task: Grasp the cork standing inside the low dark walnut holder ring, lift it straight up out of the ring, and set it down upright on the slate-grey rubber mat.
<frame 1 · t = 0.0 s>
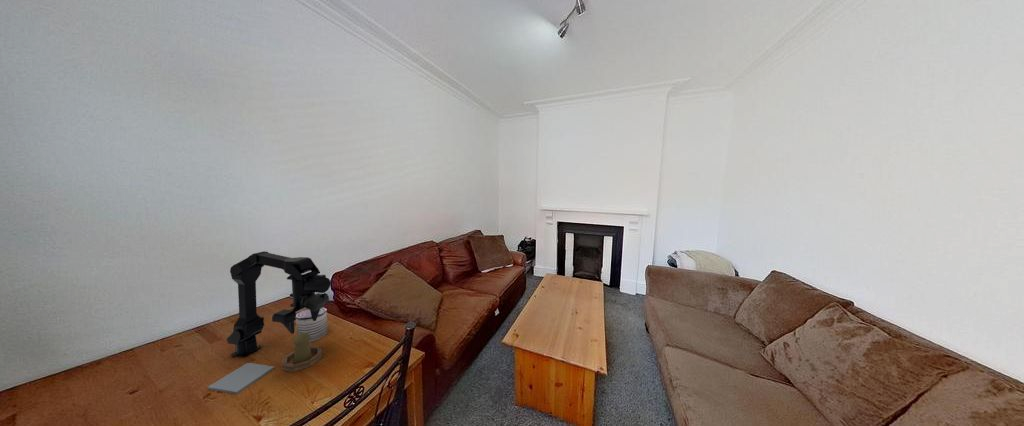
hand: (304, 326, 100), 15 cm above the table, tool pointing down, fingers open, 9 cm apart
walnut holder: (302, 359, 101), on the table
cork: (302, 360, 101), resting in walnut holder
can: (312, 335, 118), on the table
slate mat: (242, 378, 91), on the table
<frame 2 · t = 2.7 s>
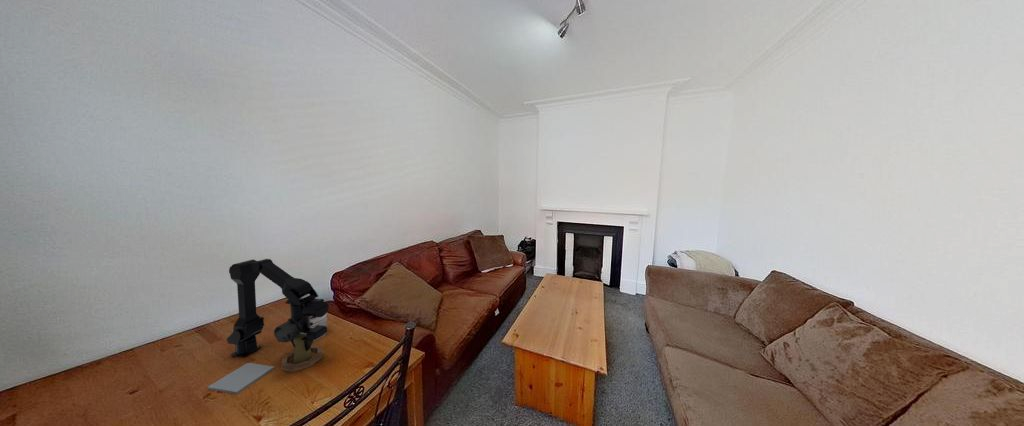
hand: (302, 349, 101), 5 cm above the table, tool pointing down, fingers closed on cork, 4 cm apart
cork: (302, 360, 101), resting in walnut holder, touching gripper
everything else where it was.
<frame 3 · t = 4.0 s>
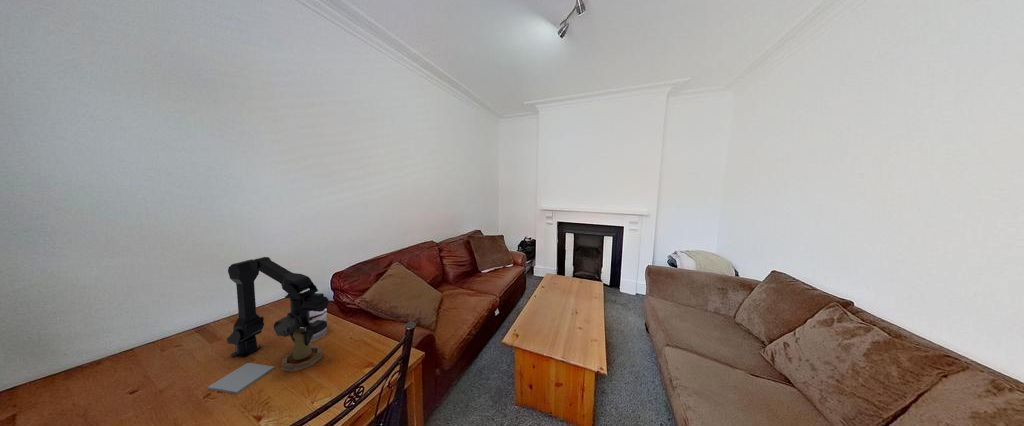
hand: (301, 344, 101), 7 cm above the table, tool pointing down, fingers closed on cork, 4 cm apart
cork: (302, 355, 101), point 2 cm above the table, touching gripper
everything else where it was.
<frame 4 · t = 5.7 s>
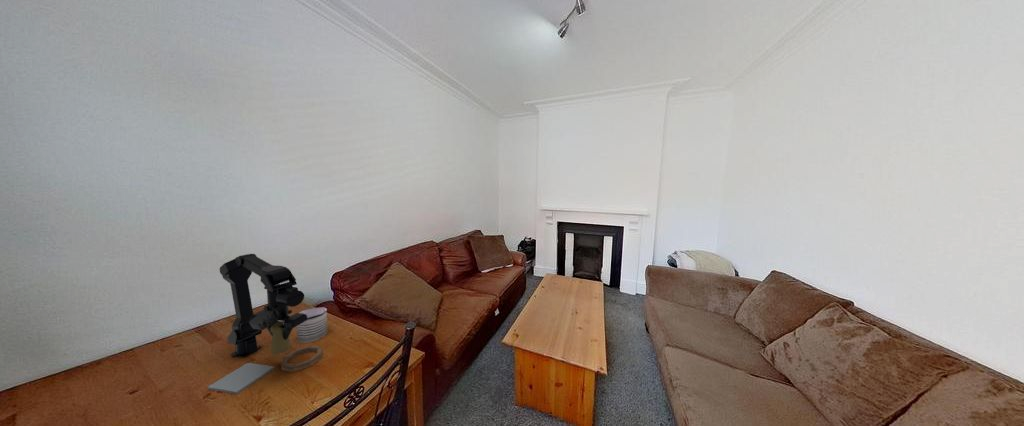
hand: (280, 338, 96), 12 cm above the table, tool pointing down, fingers closed on cork, 4 cm apart
cork: (281, 349, 97), point 7 cm above the table, touching gripper
everything else where it was.
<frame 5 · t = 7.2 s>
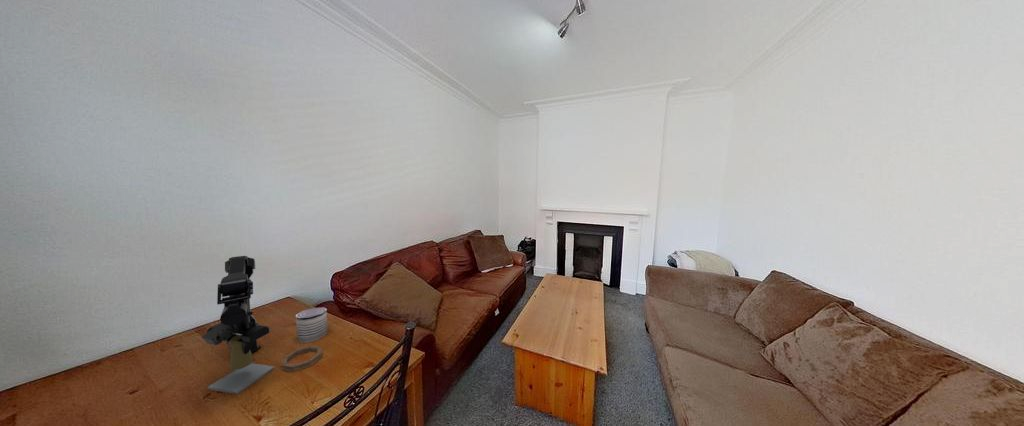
hand: (240, 352, 90), 10 cm above the table, tool pointing down, fingers closed on cork, 4 cm apart
cork: (241, 364, 91), point 5 cm above the table, touching gripper
everything else where it was.
when the fingers open (6 cm above the table, at t = 8.7 s): cork drops 1 cm, resting on slate mat.
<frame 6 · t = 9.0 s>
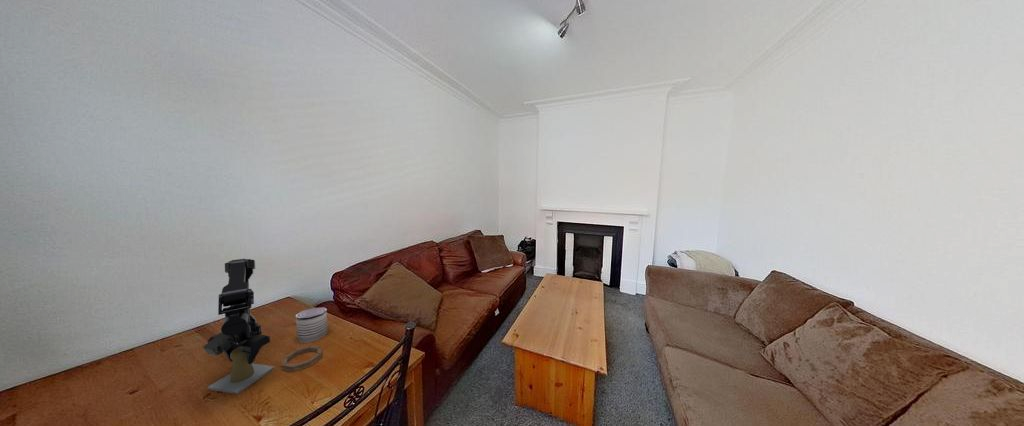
hand: (241, 361, 90), 6 cm above the table, tool pointing down, fingers open, 8 cm apart
cork: (242, 376, 91), point 1 cm above the table, touching slate mat
everything else where it was.
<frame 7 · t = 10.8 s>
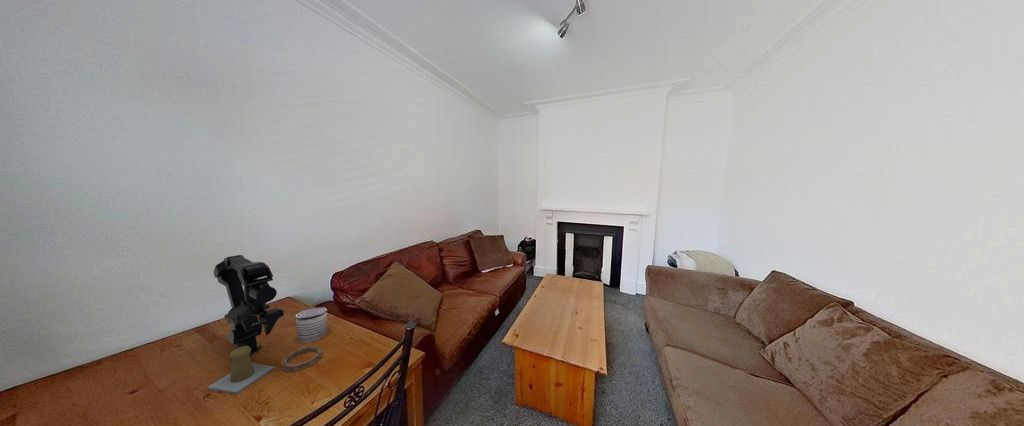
hand: (258, 333, 97), 13 cm above the table, tool pointing down, fingers open, 9 cm apart
nothing on the table moved.
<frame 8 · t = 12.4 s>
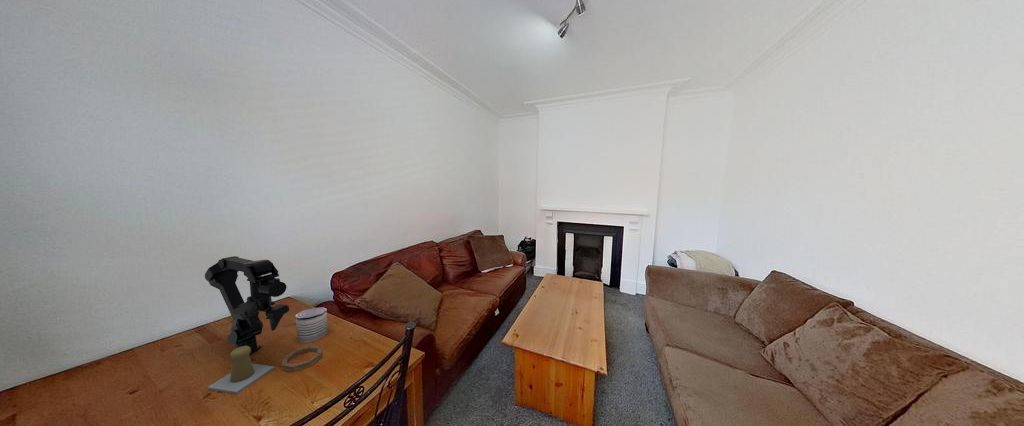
hand: (263, 328, 100), 13 cm above the table, tool pointing down, fingers open, 9 cm apart
nothing on the table moved.
at the end: cork inside the target area on the slate mat (0.1 cm from its centre), point 0.6 cm above the slate mat's base; cork tilted 0° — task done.
